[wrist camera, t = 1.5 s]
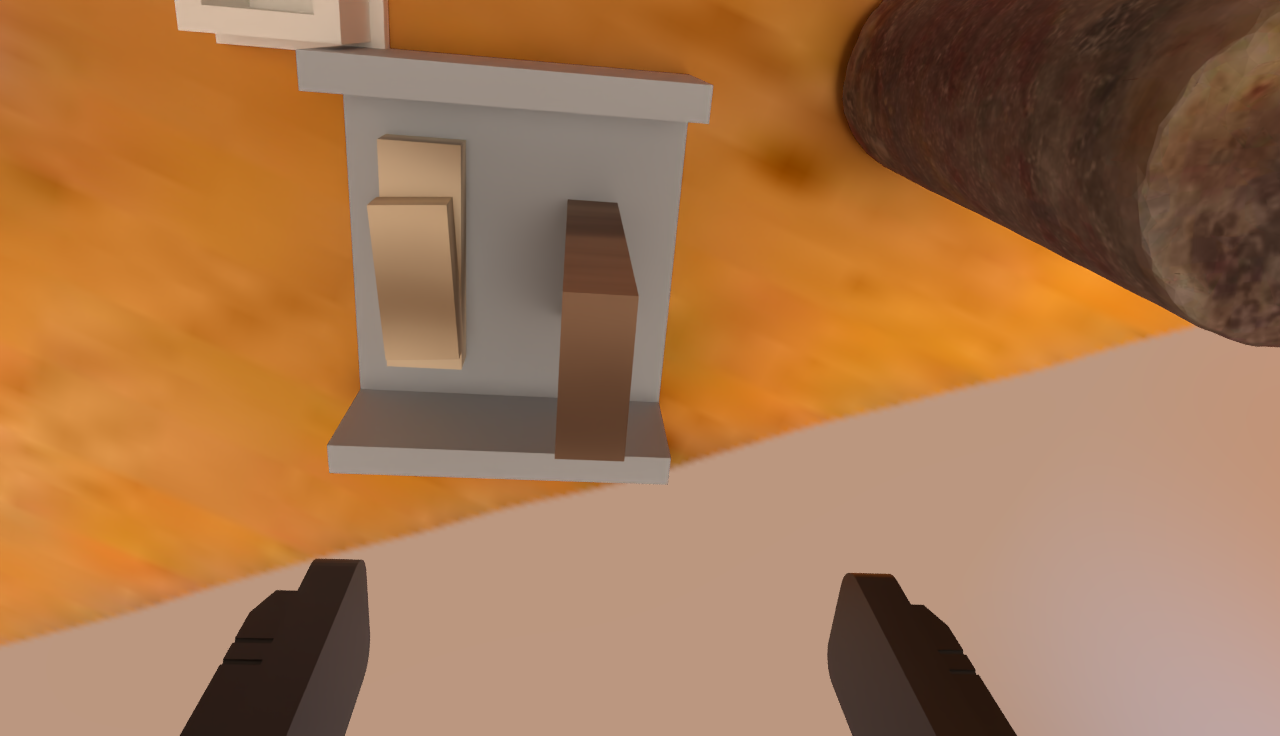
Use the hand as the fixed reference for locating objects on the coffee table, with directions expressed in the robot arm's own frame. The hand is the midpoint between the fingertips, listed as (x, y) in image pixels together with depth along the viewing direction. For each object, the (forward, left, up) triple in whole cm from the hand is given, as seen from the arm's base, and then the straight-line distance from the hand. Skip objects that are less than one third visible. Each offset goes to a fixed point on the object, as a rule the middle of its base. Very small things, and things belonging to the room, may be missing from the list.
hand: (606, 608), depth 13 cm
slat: (0, 0, -21) cm, 21 cm away
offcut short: (0, -7, -20) cm, 21 cm away
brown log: (-8, +13, -23) cm, 27 cm away
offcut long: (0, -7, -21) cm, 22 cm away
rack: (0, -3, -22) cm, 23 cm away
